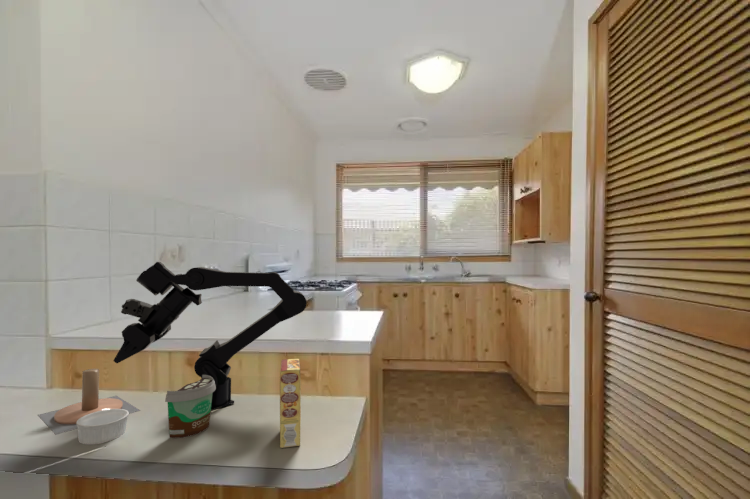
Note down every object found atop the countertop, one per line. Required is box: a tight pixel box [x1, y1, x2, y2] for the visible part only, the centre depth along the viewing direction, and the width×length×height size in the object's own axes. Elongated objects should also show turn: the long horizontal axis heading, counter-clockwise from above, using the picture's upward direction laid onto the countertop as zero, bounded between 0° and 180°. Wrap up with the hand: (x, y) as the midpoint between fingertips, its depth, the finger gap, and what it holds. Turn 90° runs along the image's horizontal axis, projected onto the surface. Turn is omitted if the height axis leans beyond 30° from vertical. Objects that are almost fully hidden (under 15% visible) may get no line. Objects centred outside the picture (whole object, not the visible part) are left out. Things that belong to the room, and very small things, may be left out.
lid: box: [54, 368, 123, 424], centre depth 90 cm, size 13×13×10 cm
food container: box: [164, 375, 216, 439], centre depth 82 cm, size 12×6×10 cm, turn 168°
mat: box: [37, 395, 141, 435], centre depth 89 cm, size 16×16×1 cm
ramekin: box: [76, 409, 130, 445], centre depth 78 cm, size 9×9×4 cm
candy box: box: [279, 358, 302, 449], centre depth 78 cm, size 9×4×15 cm, turn 13°
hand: (123, 357), depth 91 cm, fingers open, 9 cm apart
